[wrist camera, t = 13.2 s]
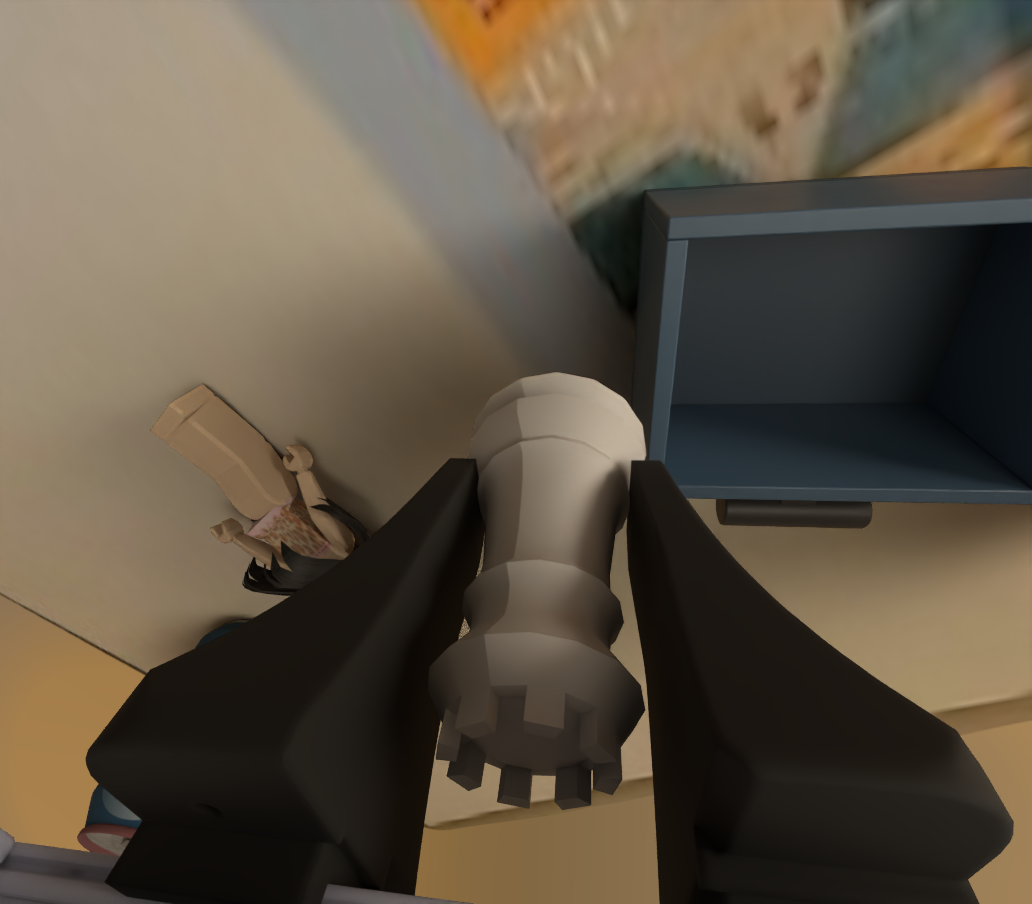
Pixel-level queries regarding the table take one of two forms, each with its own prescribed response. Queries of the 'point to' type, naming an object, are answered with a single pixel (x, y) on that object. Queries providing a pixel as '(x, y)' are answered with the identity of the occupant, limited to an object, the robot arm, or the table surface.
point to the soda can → (109, 816)
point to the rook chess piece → (544, 596)
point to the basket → (838, 343)
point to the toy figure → (261, 494)
